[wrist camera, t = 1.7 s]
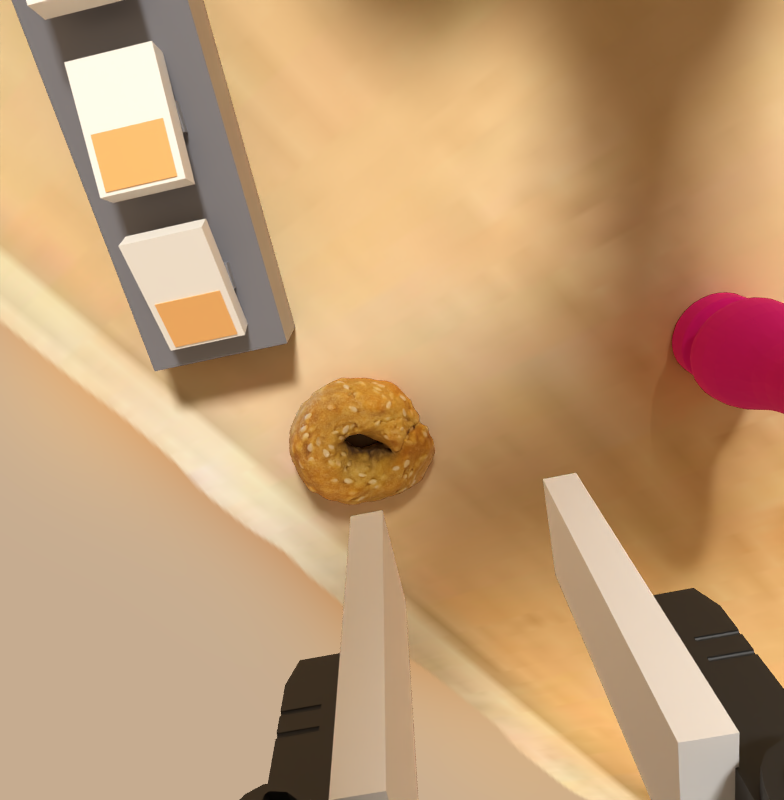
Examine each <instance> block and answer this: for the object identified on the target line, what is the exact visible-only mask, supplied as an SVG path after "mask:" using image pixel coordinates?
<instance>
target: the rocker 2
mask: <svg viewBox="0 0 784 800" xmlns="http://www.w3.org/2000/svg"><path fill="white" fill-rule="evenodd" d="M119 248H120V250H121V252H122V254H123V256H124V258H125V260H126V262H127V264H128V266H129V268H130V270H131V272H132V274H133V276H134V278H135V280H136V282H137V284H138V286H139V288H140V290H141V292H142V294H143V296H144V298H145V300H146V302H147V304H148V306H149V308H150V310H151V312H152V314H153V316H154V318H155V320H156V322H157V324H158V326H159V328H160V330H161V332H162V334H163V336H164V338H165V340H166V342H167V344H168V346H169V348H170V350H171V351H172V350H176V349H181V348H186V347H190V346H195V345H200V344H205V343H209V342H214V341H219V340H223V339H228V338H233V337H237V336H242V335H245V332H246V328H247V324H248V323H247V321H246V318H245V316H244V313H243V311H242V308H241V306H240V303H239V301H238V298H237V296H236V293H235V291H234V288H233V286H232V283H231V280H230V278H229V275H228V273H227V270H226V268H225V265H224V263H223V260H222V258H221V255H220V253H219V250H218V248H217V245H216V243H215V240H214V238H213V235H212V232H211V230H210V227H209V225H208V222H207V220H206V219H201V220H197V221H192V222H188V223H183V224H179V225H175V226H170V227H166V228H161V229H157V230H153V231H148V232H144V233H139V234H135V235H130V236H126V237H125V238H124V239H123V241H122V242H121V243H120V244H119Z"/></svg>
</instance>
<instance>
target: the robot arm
mask: <svg viewBox="0 0 784 800" xmlns="http://www.w3.org/2000/svg"><path fill="white" fill-rule="evenodd" d="M543 485H544V492H545V500H546V508H547V515H548V523H549V531H550V538H551V546H552V553H553V561H554V569H555V575H556V577H557V580H558V582H559V584H560V587H561V589H562V591H563V594H564V596H565V599H566V601H567V603H568V606H569V608H570V610H571V613H572V615H573V617H574V620H575V622H576V624H577V627H578V629H579V631H580V634H581V636H582V639H583V641H584V643H585V646H586V648H587V650H588V653H589V655H590V657H591V660H592V662H593V664H594V667H595V669H596V671H597V674H598V676H599V678H600V681H601V683H602V686H603V688H604V690H605V693H606V695H607V697H608V700H609V702H610V704H611V707H612V709H613V711H614V714H615V716H616V718H617V721H618V723H619V725H620V728H621V730H622V733H623V735H624V737H625V740H626V742H627V744H628V747H629V749H630V751H631V754H632V756H633V758H634V761H635V763H636V765H637V768H638V770H639V772H640V775H641V777H642V780H643V782H644V784H645V787H646V789H647V791H648V794H649V796H650V798H651V800H784V689H783V687H782V686H781V685H780V683H779V682H778V681H777V679H776V678H775V677H774V675H773V674H772V673H771V672H770V670H769V669H768V668H767V666H766V665H765V664H764V662H763V661H762V660H761V658H760V657H759V656H758V655H757V654H755V653H754V650H753V648H752V647H751V645H750V644H749V643H748V641H747V640H746V639H745V638H744V636H743V635H742V634H740V633H739V630H738V628H737V627H736V626H735V624H734V623H733V622H732V621H731V619H730V618H729V617H728V615H727V614H726V613H725V611H724V610H723V609H722V607H721V606H720V605H718V604H717V603H715V602H714V601H712V600H711V599H709V598H708V597H706V596H705V595H703V594H702V593H700V592H699V591H697V590H696V589H694V588H691V589H685V590H680V591H674V592H669V593H663V594H658V595H653V594H652V593H651V591H650V590H649V588H648V586H647V585H646V583H645V582H644V580H643V578H642V577H641V575H640V574H639V572H638V571H637V569H636V567H635V566H634V564H633V563H632V561H631V559H630V558H629V556H628V555H627V553H626V551H625V550H624V548H623V547H622V545H621V543H620V542H619V540H618V539H617V537H616V536H615V534H614V532H613V531H612V529H611V528H610V526H609V524H608V523H607V521H606V520H605V518H604V516H603V515H602V513H601V512H600V510H599V509H598V507H597V505H596V504H595V502H594V501H593V499H592V497H591V496H590V494H589V493H588V491H587V489H586V488H585V486H584V485H583V483H582V481H581V480H580V478H579V477H578V475H577V474H576V473H572V474H567V475H562V476H556V477H551V478H546V479H543ZM240 800H418V788H417V772H416V756H415V740H414V724H413V708H412V693H411V676H410V660H409V644H408V628H407V612H406V600H405V596H404V593H403V589H402V585H401V581H400V577H399V573H398V569H397V565H396V561H395V557H394V553H393V549H392V545H391V542H390V538H389V534H388V530H387V526H386V522H385V518H384V514H383V510H380V511H375V512H370V513H365V514H359V515H354V516H351V517H350V530H349V543H348V556H347V569H346V582H345V595H344V608H343V621H342V635H341V647H340V653H338V654H333V655H327V656H322V657H317V658H311V659H305V660H300V661H299V663H298V664H297V666H296V668H295V669H294V671H293V673H292V675H291V676H290V678H289V680H288V681H287V683H286V685H285V689H284V695H283V701H282V706H281V716H280V718H279V724H278V729H277V739H276V741H275V747H274V752H273V758H272V763H271V769H270V775H269V780H268V784H264V785H262V786H260V787H258V788H256V789H254V790H252V791H251V792H249V793H247V794H245V795H244V796H243V797H242V798H241V799H240Z"/></svg>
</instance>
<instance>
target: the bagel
mask: <svg viewBox="0 0 784 800" xmlns="http://www.w3.org/2000/svg"><path fill="white" fill-rule="evenodd" d="M356 434H364V435H365V436H367V437H370V438H372V439H374V440H377V441H379V443H376V444H373V445H370V446H365V447H363V448H360V447H359V446H358V447H355V446H353V445H352V444H350V443H348V442H347V441H346V440H345V439H346V437H349V436H350V435H356ZM289 444H290V447H289V449H290V455H291V458H292V461H293V462H294V465H295V467H296V470H297V471H298V474H299V476H300V477H301V479H302V480H303V482H304V483H305V484H306V486H307V488H308V489H309V490H310V491H312V492H315V493H317V494H319V495H321V496H322V497H324V498H326V499H329V500H332V501H338V502H341V503H344V504H348V505H355V504H360V503H362V502H372V501H377V500H382V499H384V498H386V497H388V496H393V495H396V494H400V493H402V492H403V491H405V490H407V489H409V488H411V487H412V486H413V485H415V484H417V483H418V482H419V481H421V480H422V478H423V477H424V475H425V472H426V470H427V468H428V467H429V465H430V463H431V461H432V458H433V455H434V453H435V448H434V442H433V439H432V437H431V436H430V434H429V429H428V427H427V426H424V425H423V424H421V423H420V422H419V415H418V413H417V412H416V410H415V409H414V407H413V405H412V402H411V400H410V399H409V398H407V397H406V395H405V394H404V393H403V392H402V391H401V390H400V389H399V388H398V387H397V386H396V385H394V384H393V383H391V382H388V381H378V380H374V379H368V378H351V379H347V378H340V379H338V380H335V381H333V382H331V383H329V384H328V385H326V386H324V387H322V388H321V389H319V390H317V391H316V392H314V393H313V394H312V396H311V398H310V399H308V400H307V401H306V402H304V403H303V404H302V405H301V407H300V409H299V410H298V412H297V414H296V417H295V419H294V421H293V423H292V426H291V429H290V438H289Z"/></svg>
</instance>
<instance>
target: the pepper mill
mask: <svg viewBox="0 0 784 800" xmlns="http://www.w3.org/2000/svg"><path fill="white" fill-rule="evenodd" d="M672 348H673V353H674V356H675V358H676V360H677V361H678V363H679V364H680V365H681V366H682V367H683V368H684V369H685V370H687V371H688V372H690V373H691V374H692V375H693V376H694V378H695V380H696V382H697V383H698V385H699V386H700V387H701V388H702V389H703V390H704V392H706V393H707V394H708V395H710V396H711V397H713V398H715V399H717V400H719V401H721V402H723V403H725V404H727V405H730V406H734V407H738V408H743V409H753V410H773V411H778V412H781V413H783V414H784V304H783V303H781V302H779V301H776V300H773V299H768V298H756V297H753V298H746V297H743V296H740V295H738V294H733V293H727V292H724V293H716V294H711V295H709V296H706V297H704V298H702V299H700V300H698V301H697V302H695V303H693V304H692V305H691V306H690V307H689V308H688V309H687V310H686V311H685V312H684V313H683V315H682V316H681V317H680V319H679V320H678V322H677V324H676V327H675V330H674V333H673V338H672Z"/></svg>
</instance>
